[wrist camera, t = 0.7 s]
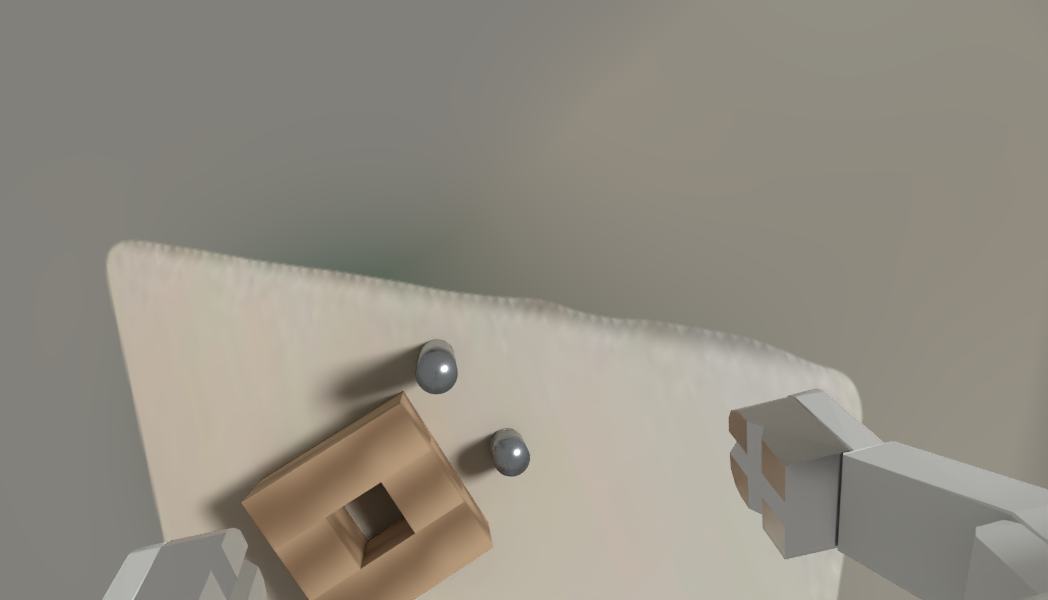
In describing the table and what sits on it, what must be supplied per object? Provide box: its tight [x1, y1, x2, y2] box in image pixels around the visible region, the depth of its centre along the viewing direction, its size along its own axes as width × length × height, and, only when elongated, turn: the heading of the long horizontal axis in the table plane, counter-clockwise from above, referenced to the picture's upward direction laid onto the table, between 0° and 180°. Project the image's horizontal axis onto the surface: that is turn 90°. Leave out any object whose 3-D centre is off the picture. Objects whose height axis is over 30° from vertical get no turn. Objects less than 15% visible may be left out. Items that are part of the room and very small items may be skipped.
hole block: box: [241, 391, 493, 600], centre depth 51 cm, size 14×14×5 cm
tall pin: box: [416, 339, 458, 394], centre depth 49 cm, size 3×3×9 cm
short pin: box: [490, 428, 530, 476], centre depth 53 cm, size 3×3×4 cm
